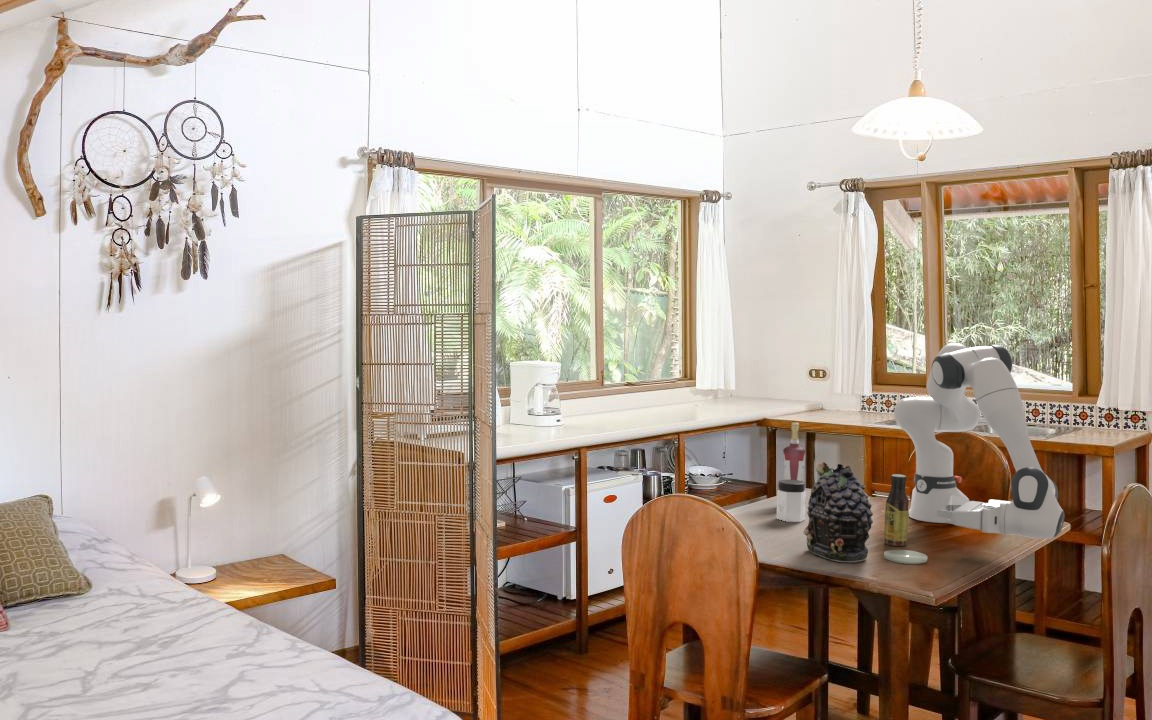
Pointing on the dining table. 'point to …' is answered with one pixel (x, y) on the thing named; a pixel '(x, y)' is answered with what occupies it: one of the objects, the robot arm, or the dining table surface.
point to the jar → (791, 500)
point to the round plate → (905, 556)
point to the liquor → (794, 457)
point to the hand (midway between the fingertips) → (941, 509)
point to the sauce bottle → (896, 513)
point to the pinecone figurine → (838, 515)
